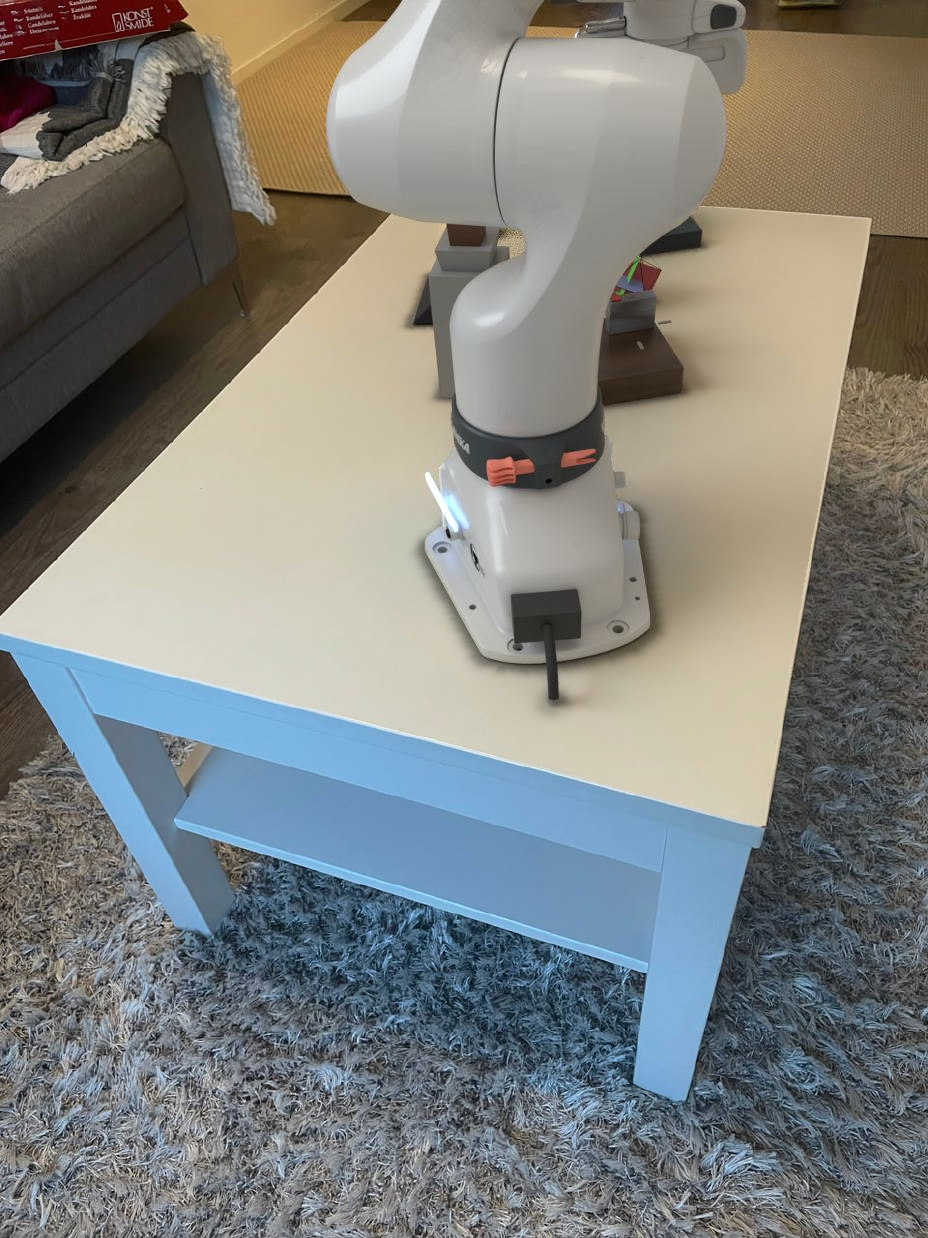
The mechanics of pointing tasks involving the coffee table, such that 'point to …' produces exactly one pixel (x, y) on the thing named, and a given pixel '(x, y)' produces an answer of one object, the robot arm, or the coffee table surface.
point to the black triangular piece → (424, 309)
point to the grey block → (630, 312)
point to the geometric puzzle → (637, 278)
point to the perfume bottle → (457, 284)
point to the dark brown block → (637, 366)
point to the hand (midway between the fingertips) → (654, 140)
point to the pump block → (677, 239)
